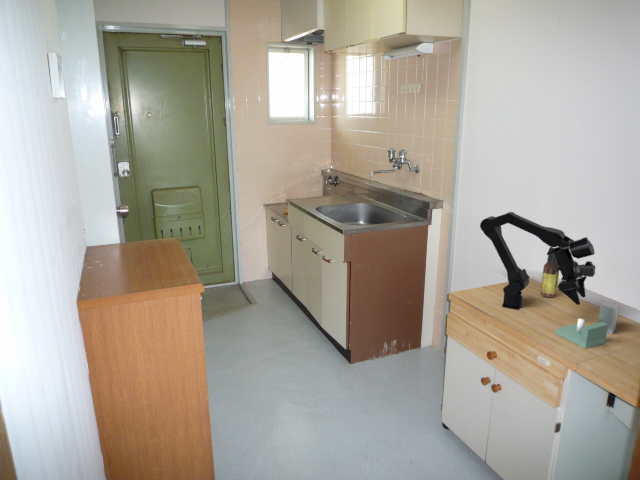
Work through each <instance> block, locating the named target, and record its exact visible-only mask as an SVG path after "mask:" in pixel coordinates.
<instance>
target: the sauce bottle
mask: <svg viewBox="0 0 640 480" xmlns="http://www.w3.org/2000/svg"><path fill="white" fill-rule="evenodd" d="M546 260H547V261H546V262H545V264H544V265H543V269H542V270H543V271H542V275H541V283H540V284H541V285H540V295H541V296H542V297H545V298H550V299H551V298H554V297H556V293H557V291H558V285H559V284H558V282H559V275H560V270H559V271H558V269H557V268H558V264H557V262H556V260H555V257H554V255H553V254H550V255H547V259H546Z"/></svg>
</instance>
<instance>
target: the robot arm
mask: <svg viewBox="0 0 640 480" xmlns="http://www.w3.org/2000/svg"><path fill="white" fill-rule="evenodd" d="M507 224H510V225H512V226H513V227H516V228H518V229H520V230H523V231H524V232H527V233H529V234H531V235H533V236H535V237H537V238H538V239H539V240H540V241H541V242H543V243H544V244H546V245H547V246H548V247H549V248H548V250H547V252H546V255H547V256H548V255H550V254H553V255H554V257H555V260H556V262H557V264H558V268H557V269H558V271H559V273H560V274H561V276H562V277H561V280H560V282H559V284H557V290H558V291H559V292H561V293H563V294H564V295H566V297H568V298H569V299H570V300H571V301H572V302H573V303H574V304H576V305H578V306H579V305H581V302H580V301H581V300H580V298H579V297H580V296H581V298H586V289H585V288H586V286H585V281H586V279H587V278H590V277H594V276H595V275H596V266H595V264H593V262H592V261H587V260H586V262H585V264H583V263H582V264H579V263H578V261H576V260H574V258H576V259H578V260H579V259H582V258H586V257H591V256H594V255H595V253H596V252H595V248H594V246H593V244H592V242H591V241H590V240H589V239H588V237H587V236H585V237H582V238H579V239H577V240H574V239H573V238H570V237H569V236H567V235H566V234H565V232H564V231H563V230H561V229H558V228H553V227H550V226H549V227H548V226H544V225H541V224H538V223H536V222H534V221H532V220H531V219H528V218H525V217H523V216H520V215H519V214H516V213H515V212H512V211H508V212H507V213H504V214H501V215H499V216H488V217H485V218H484V219H482V220H481V222H480V224H479V227H480V230H481V231H482V232H483V234H484V235H485V236H486V237H487V238H488V239H489V240H490V241H491V242H492V243H491V244H492V245H493V247H494V249H495V250H496V252H497V255H498V256H499V259H500V261H501V263H502V264H503V266H504V268H505V270H506V272H507V275H506V276H507V281H508V284H507V285H505V286H504V287H503V289H502V290H503V303H502V304H501V306H502V308H508V309H513V310H520V308H522V304H523V300H524V299H523V297H524V295H523V294H522V292H523V291H524V290H525V289H526V288H527V287H528V286H529V283H530V279H529V278H530V275H528V274H527V270H526V268H523V269H521V268H520V267H519V266H518V264H517V262H516V260H515V258H514V256H513V254H512V252H511V250H510V249H509V246H508V244H507V243H506V240H505V239H504V237H503V234H502V233H503V232H502V226H504V225H507ZM579 295H580V296H579Z"/></svg>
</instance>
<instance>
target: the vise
mask: <svg viewBox="0 0 640 480" xmlns="http://www.w3.org/2000/svg"><path fill="white" fill-rule="evenodd" d="M607 329H608V324H606V323H604V322H599V323H598V322H596V323H591V324H588V325H585V318H581V317H580V318H578V319H577V322H576V323H574V324H573V323H572V324H569V325H565V326H560V327H558V328H555V331H554V334H555V335H557V336H559V337H561V338H564V339H566V340H567V341H569V342H571V343H573V344H575V345H577V346H579V347H581V348H583V349H589V348H593V347H596V346H599V345H601V344H605V343H606V340H607V334H608V333H607Z"/></svg>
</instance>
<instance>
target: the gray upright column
mask: <svg viewBox="0 0 640 480" xmlns="http://www.w3.org/2000/svg"><path fill="white" fill-rule="evenodd" d="M619 309H620V303H616V302H611V301H606V300H603V301H602V302H601V304H600V307H599V311H598V317H597V323H599V322H604V323H606V324H608V329H607V334H610V335H613V334H614V332H615V331H616V327H617V322H618V321H617V320H618V317H619V315H618V314H619Z"/></svg>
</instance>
